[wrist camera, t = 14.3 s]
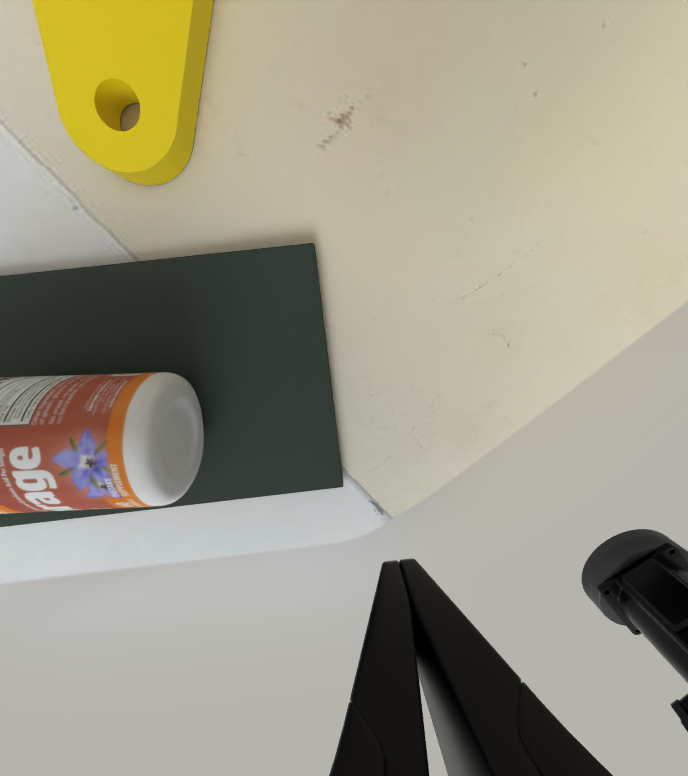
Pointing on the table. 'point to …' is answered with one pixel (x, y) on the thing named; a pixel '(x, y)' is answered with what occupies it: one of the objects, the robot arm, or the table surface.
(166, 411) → the pill bottle
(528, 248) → the table surface
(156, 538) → the table surface
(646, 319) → the table surface
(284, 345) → the mat
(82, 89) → the crank
